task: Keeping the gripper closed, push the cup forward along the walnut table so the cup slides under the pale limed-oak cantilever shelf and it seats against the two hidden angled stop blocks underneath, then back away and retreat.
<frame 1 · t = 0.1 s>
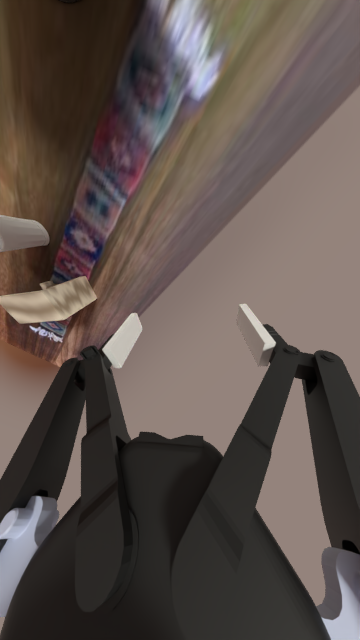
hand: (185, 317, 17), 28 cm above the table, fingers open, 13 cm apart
shelf: (66, 280, 45), on the table
cup: (38, 233, 38), on the table
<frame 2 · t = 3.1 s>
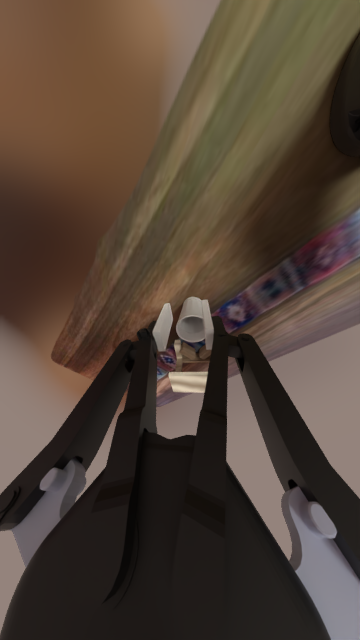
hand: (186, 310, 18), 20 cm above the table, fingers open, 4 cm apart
shelf: (196, 339, 47), on the table
cup: (193, 306, 40), on the table
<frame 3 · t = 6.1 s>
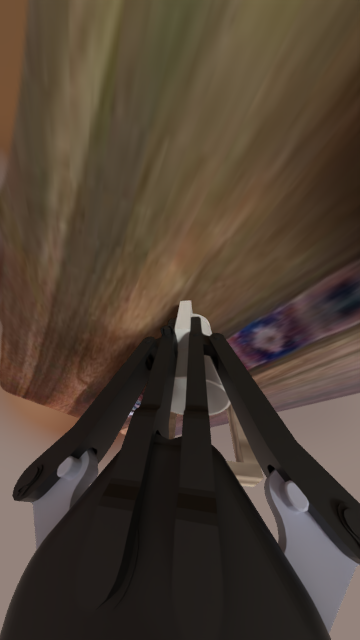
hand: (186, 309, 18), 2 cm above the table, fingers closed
shelf: (198, 374, 30), on the table
cup: (192, 328, 23), on the table, touching gripper
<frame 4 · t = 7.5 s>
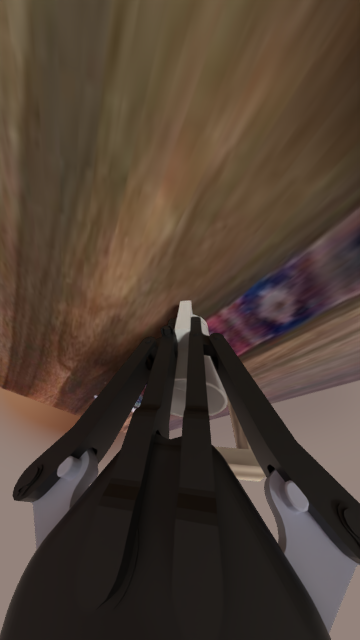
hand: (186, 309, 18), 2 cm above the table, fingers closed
shelf: (194, 355, 27), on the table
cup: (190, 328, 23), on the table, touching gripper
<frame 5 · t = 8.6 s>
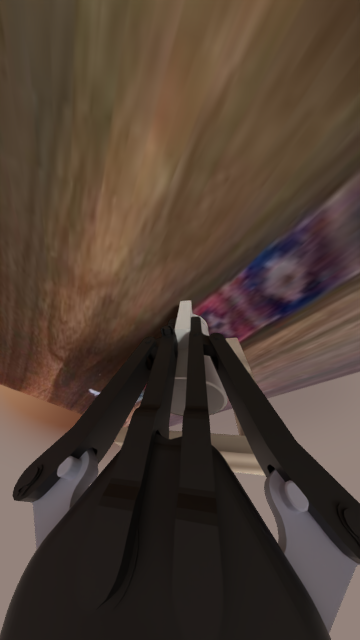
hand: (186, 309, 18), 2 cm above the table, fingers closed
shelf: (193, 341, 25), on the table
cup: (190, 328, 23), on the table, touching gripper
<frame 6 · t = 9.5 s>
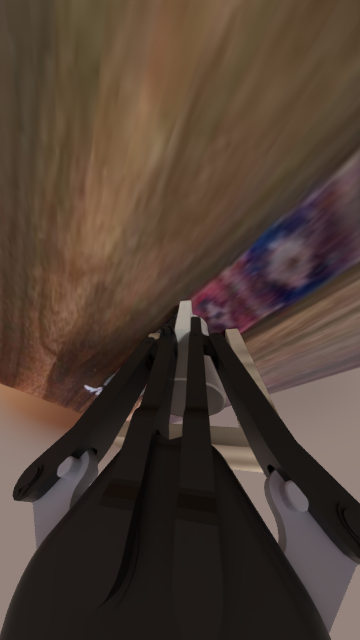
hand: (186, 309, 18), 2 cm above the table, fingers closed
shelf: (191, 333, 23), on the table
cup: (189, 328, 23), on the table, touching gripper
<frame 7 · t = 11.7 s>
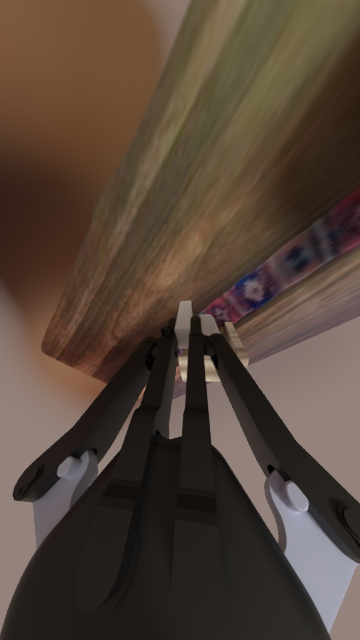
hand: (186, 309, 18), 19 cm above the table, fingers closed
shelf: (206, 324, 42), on the table
cup: (205, 322, 42), on the table
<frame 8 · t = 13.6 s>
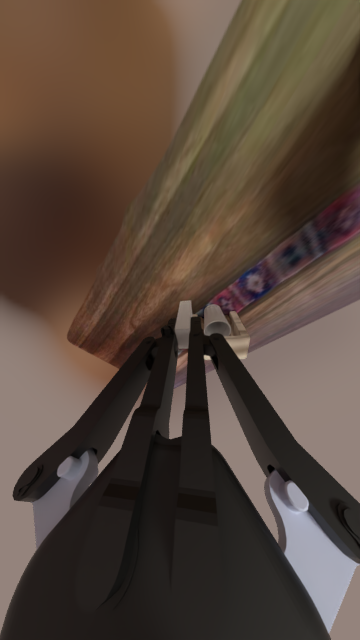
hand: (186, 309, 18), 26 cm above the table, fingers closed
shelf: (213, 313, 48), on the table
cup: (212, 311, 48), on the table
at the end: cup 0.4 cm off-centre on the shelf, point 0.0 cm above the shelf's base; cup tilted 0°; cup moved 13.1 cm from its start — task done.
